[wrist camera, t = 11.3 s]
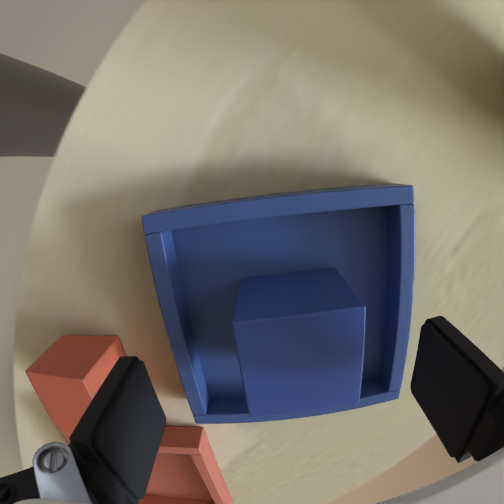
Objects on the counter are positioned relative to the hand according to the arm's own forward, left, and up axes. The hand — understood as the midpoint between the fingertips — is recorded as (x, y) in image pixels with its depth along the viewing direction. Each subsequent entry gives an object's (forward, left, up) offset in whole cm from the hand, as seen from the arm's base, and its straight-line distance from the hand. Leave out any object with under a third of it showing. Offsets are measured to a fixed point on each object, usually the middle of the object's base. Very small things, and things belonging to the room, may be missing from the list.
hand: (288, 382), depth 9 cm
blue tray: (0, +1, -6) cm, 6 cm away
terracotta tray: (+14, -11, -6) cm, 19 cm away
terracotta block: (+3, -11, -6) cm, 13 cm away
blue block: (0, +1, -6) cm, 6 cm away
